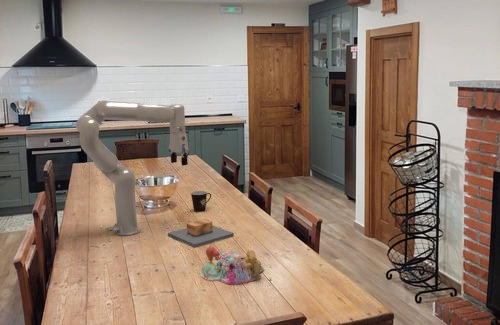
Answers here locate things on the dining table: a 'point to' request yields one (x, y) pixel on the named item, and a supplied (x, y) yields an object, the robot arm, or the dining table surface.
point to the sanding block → (199, 227)
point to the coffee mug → (199, 200)
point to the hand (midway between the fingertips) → (179, 163)
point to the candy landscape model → (231, 267)
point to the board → (200, 240)
